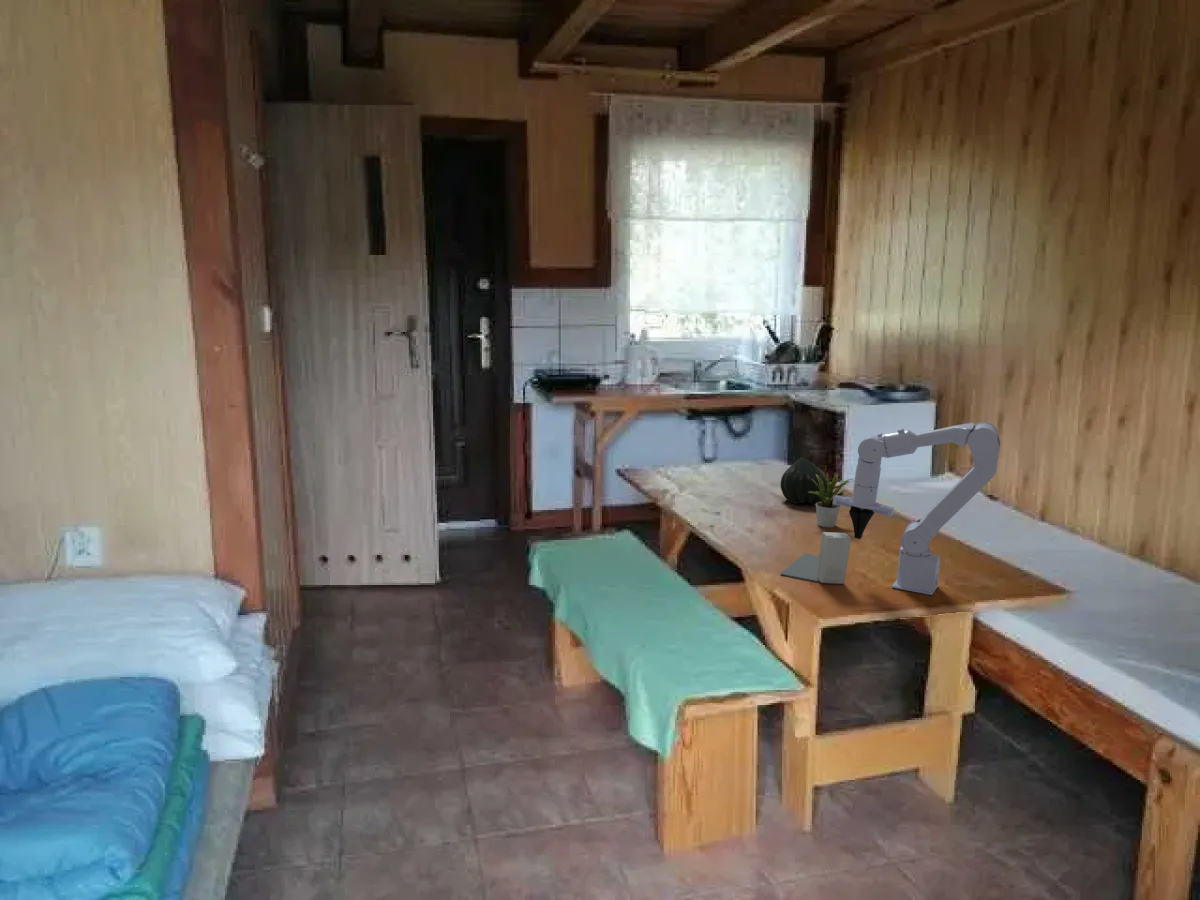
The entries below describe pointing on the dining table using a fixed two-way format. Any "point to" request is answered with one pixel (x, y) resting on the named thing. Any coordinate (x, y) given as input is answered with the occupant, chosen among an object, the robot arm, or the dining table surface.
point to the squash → (802, 482)
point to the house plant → (828, 501)
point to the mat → (803, 568)
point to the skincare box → (833, 557)
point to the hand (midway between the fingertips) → (858, 537)
